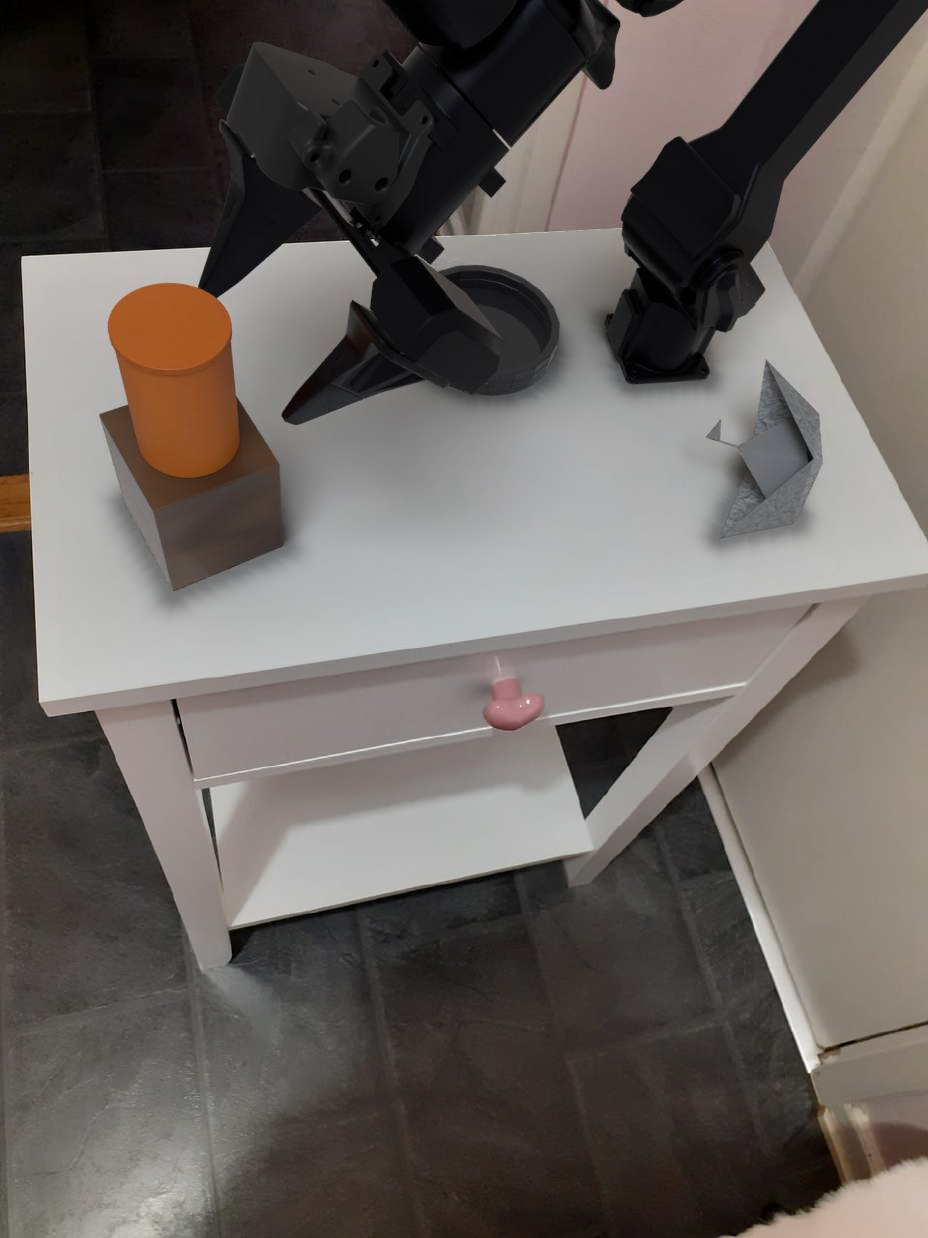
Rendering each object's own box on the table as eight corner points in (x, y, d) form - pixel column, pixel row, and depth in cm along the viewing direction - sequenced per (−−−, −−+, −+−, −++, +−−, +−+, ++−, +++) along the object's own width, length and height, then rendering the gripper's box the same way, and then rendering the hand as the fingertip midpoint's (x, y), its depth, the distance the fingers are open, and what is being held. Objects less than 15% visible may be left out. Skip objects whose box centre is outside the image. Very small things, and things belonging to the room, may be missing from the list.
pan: (533, 283, 70) (538, 262, 68) (569, 390, 65) (576, 370, 64) (395, 288, 68) (398, 266, 66) (423, 399, 63) (426, 379, 61)
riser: (232, 462, 58) (222, 372, 51) (283, 546, 56) (280, 463, 49) (124, 502, 56) (98, 413, 49) (172, 591, 53) (153, 511, 46)
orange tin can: (236, 396, 51) (225, 280, 44) (247, 475, 48) (237, 366, 41) (133, 402, 49) (105, 284, 42) (138, 484, 47) (109, 372, 40)
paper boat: (830, 561, 60) (714, 528, 57) (766, 557, 66) (658, 526, 63) (874, 380, 60) (760, 336, 56) (806, 391, 66) (699, 352, 62)
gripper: (242, -151, 37) (31, 162, 42) (496, 132, 30) (209, 457, 36) (396, 22, 46) (208, 258, 52) (612, 264, 40) (372, 504, 46)
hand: (245, 355), depth 46 cm, fingers open, 9 cm apart
